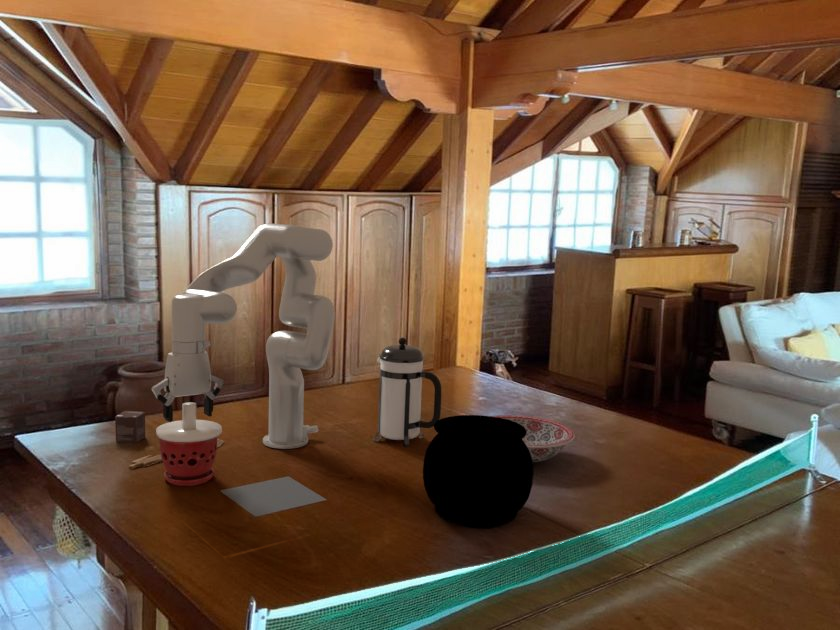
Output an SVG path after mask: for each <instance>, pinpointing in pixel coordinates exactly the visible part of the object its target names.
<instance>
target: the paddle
mask: <svg viewBox="0 0 840 630" xmlns="http://www.w3.org/2000/svg"><path fill="white" fill-rule="evenodd" d="M224 444H225V441H224V440H223V439H221V438H217V449H219V448H221V447H223V445H224ZM160 461H162V457H161V453H159V454H157V455H154V456H153V455H152V454H149V455H146V456H143V457H140V458H139V457H138V458H137V459H134V460H133V461H131V464H129V465H128V469H129V468H131V469H130V470H134V469H133V468H136V467H139V466H147V465H150V464H152V463H156V462H160ZM133 463H135V464H133ZM160 463H161V462H160ZM139 468H140V467H139ZM136 469H137V468H136Z"/></svg>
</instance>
